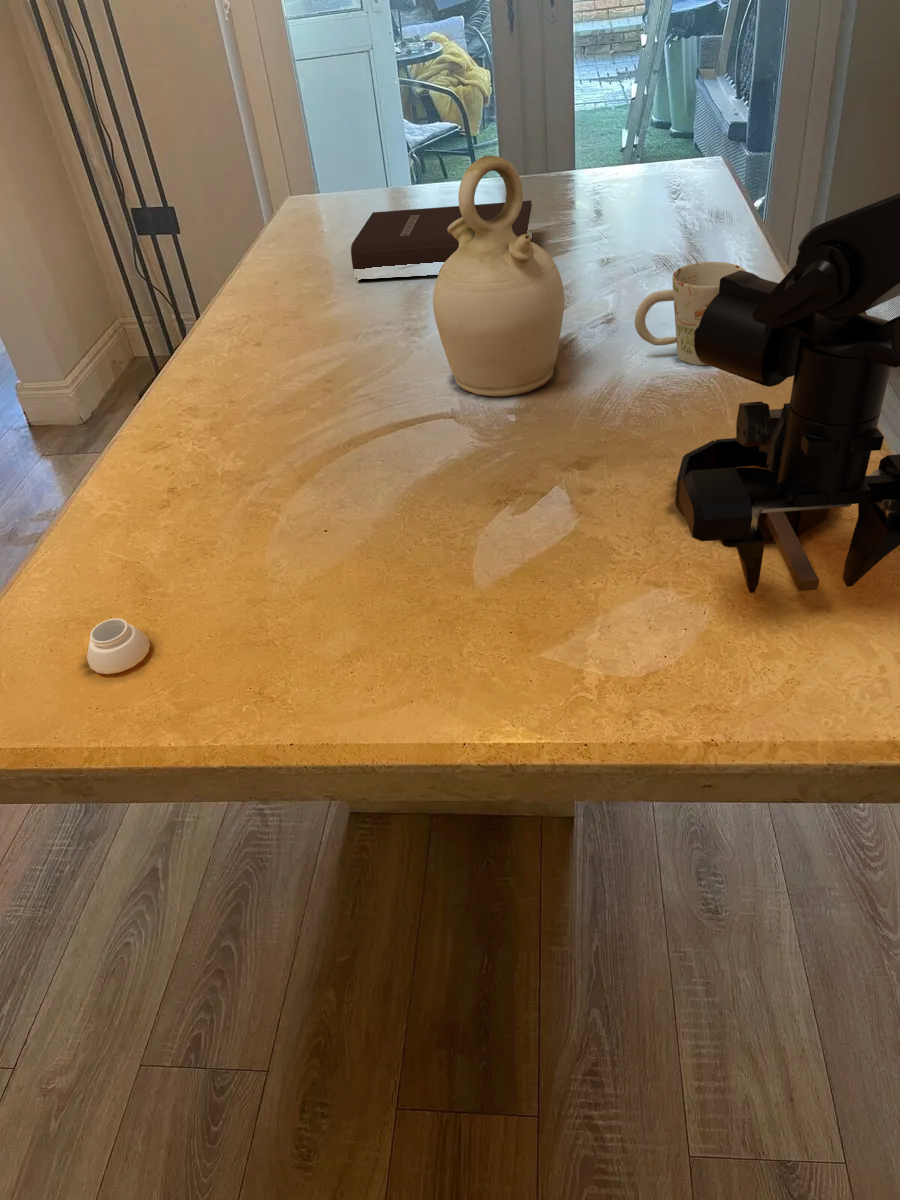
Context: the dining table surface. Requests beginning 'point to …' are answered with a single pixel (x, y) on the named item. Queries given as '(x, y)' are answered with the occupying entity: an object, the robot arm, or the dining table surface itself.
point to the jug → (497, 296)
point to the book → (418, 235)
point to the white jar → (116, 646)
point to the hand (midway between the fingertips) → (798, 586)
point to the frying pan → (772, 524)
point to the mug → (686, 304)
